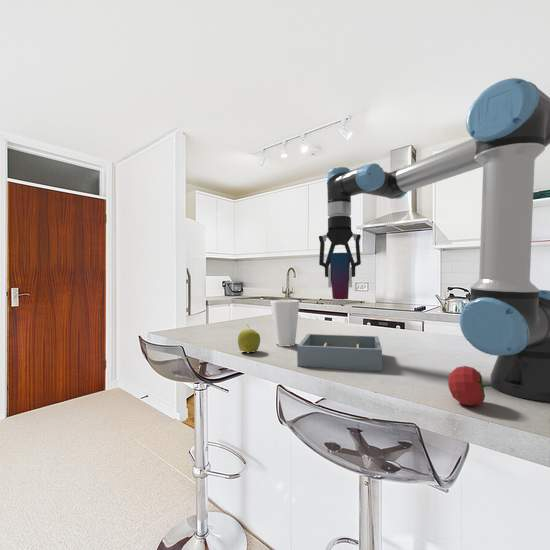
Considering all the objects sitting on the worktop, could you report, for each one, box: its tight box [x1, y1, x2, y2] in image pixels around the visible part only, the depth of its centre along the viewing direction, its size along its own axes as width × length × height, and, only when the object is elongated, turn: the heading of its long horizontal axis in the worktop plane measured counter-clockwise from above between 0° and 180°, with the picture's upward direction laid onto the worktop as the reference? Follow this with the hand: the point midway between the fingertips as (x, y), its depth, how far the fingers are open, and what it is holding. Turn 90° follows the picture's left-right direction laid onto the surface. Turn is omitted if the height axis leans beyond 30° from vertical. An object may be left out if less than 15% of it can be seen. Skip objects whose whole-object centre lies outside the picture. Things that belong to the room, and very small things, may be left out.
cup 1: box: [270, 299, 300, 346], centre depth 127 cm, size 11×10×17 cm
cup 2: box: [329, 252, 351, 300], centre depth 108 cm, size 7×7×15 cm
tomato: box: [447, 365, 492, 407], centre depth 68 cm, size 8×8×8 cm
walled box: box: [296, 333, 383, 372], centre depth 104 cm, size 20×24×6 cm
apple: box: [237, 324, 261, 352], centre depth 116 cm, size 8×8×10 cm
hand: (340, 287), depth 108 cm, fingers closed on cup 2, 6 cm apart
